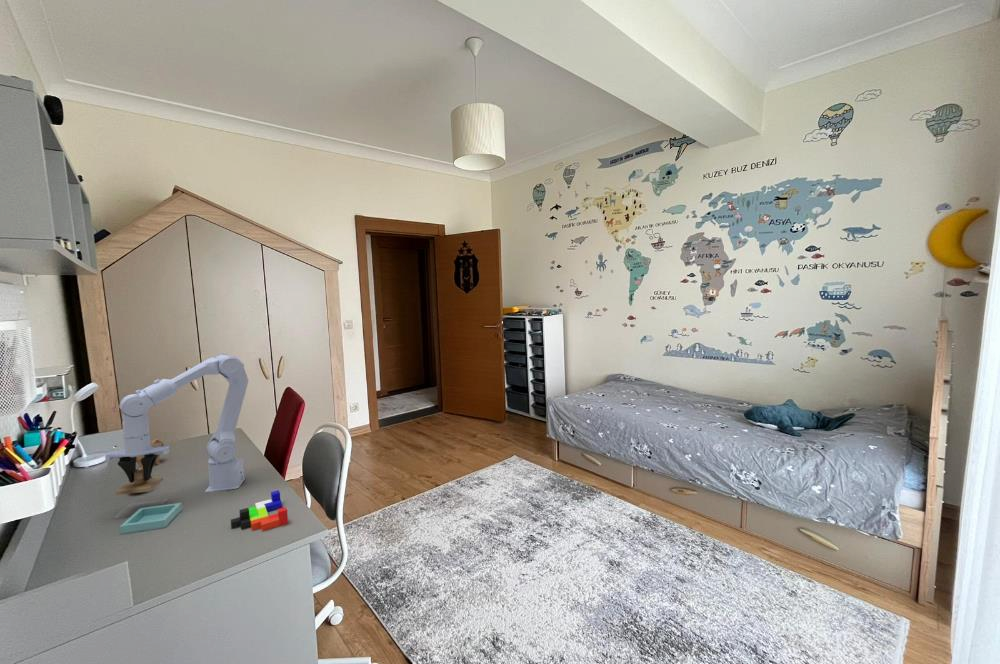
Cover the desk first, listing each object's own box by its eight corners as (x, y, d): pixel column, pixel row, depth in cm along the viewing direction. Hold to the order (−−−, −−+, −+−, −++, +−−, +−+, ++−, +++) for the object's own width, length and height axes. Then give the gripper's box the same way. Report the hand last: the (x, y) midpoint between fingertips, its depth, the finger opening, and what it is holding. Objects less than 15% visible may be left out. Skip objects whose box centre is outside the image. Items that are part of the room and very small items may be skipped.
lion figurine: (155, 460, 160) (153, 437, 160) (169, 459, 161) (167, 437, 160) (122, 476, 146) (120, 451, 145) (137, 475, 146) (135, 451, 145)
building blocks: (229, 517, 118) (228, 502, 117) (279, 503, 125) (279, 490, 125) (233, 541, 106) (232, 525, 105) (288, 524, 113) (287, 509, 113)
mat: (169, 499, 128) (168, 498, 128) (154, 513, 119) (154, 512, 119) (130, 504, 125) (129, 503, 125) (112, 519, 116) (111, 518, 116)
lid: (163, 480, 126) (162, 464, 125) (150, 491, 118) (149, 474, 118) (131, 483, 123) (130, 467, 123) (116, 495, 116) (115, 477, 115)
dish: (182, 510, 121) (181, 502, 120) (165, 528, 111) (164, 520, 111) (140, 516, 118) (140, 508, 117) (120, 535, 108) (119, 526, 108)
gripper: (172, 428, 126) (175, 471, 127) (113, 434, 121) (117, 478, 122) (162, 435, 119) (165, 480, 120) (99, 441, 114) (103, 488, 115)
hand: (140, 480), depth 120 cm, fingers closed on lid, 3 cm apart
